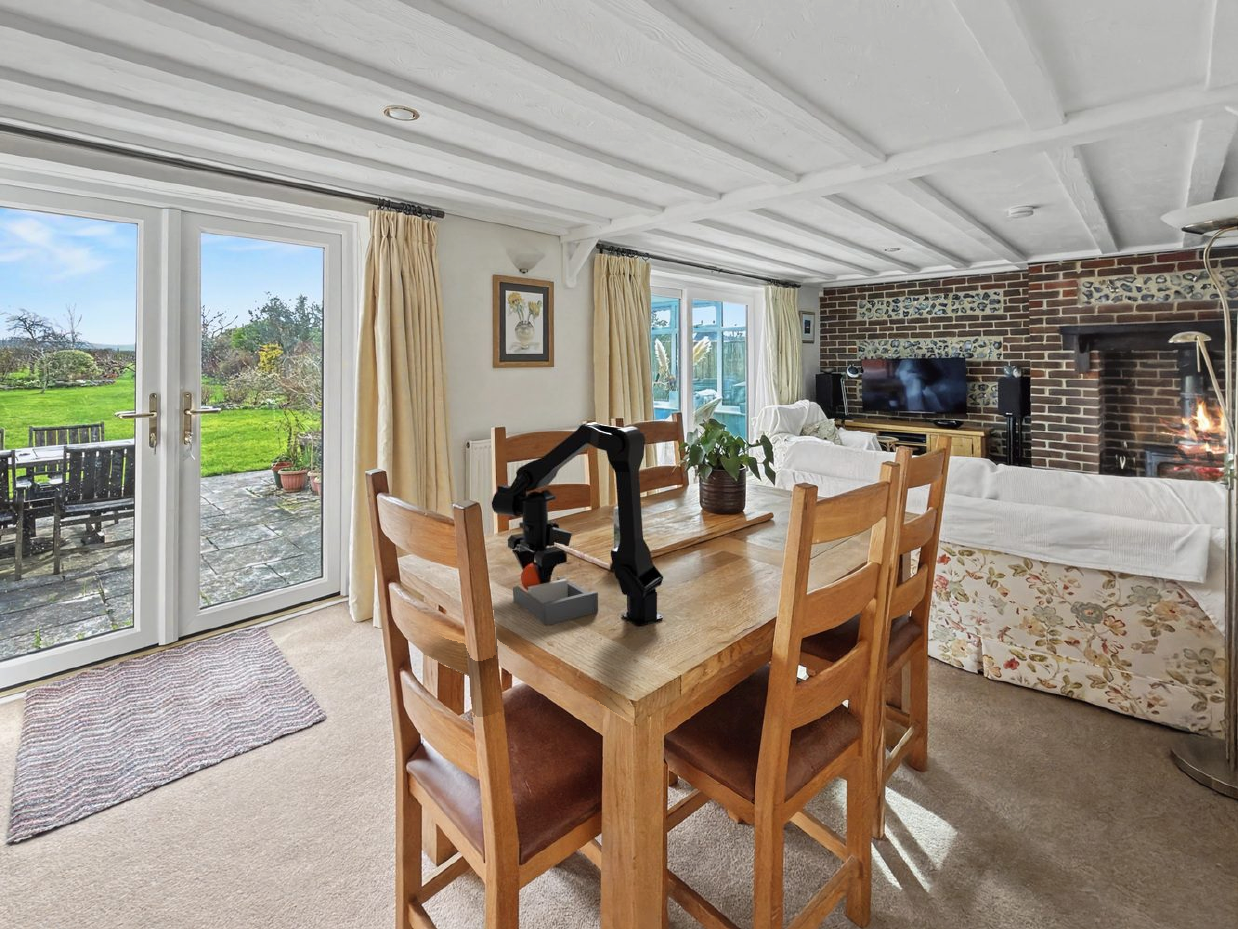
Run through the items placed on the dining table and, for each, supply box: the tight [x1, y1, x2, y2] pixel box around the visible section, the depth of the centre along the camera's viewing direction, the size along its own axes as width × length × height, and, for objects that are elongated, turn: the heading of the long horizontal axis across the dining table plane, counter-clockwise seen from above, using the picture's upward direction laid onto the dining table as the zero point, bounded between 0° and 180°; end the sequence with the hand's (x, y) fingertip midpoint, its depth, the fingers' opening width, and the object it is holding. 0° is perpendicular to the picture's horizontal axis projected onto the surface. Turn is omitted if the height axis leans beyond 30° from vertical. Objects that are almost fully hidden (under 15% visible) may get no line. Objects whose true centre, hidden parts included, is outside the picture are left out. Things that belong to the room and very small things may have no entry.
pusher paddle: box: [527, 578, 568, 603], centre depth 139 cm, size 1×9×4 cm, turn 124°
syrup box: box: [613, 505, 620, 549], centre depth 168 cm, size 6×6×14 cm
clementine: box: [520, 561, 552, 592], centre depth 143 cm, size 8×7×7 cm
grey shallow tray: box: [512, 576, 599, 627], centre depth 137 cm, size 16×12×4 cm
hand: (537, 584), depth 144 cm, fingers closed on clementine, 7 cm apart
